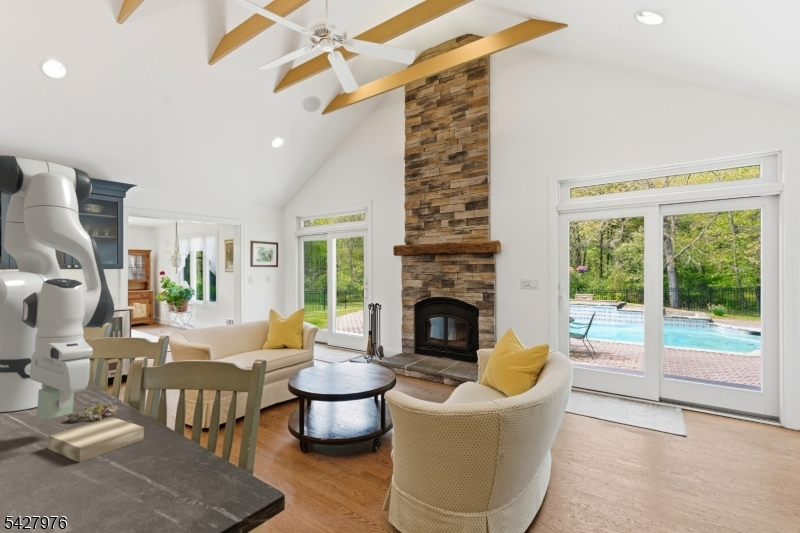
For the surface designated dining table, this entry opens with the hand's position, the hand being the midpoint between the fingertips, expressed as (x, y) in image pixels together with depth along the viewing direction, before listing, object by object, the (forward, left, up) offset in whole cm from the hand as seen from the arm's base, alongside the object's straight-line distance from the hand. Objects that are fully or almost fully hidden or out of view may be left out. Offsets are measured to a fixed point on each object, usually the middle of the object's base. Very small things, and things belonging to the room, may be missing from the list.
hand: (55, 404), depth 95 cm
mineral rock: (-6, +11, -8) cm, 15 cm away
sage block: (0, 0, -2) cm, 2 cm away
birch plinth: (+14, +2, -8) cm, 16 cm away
